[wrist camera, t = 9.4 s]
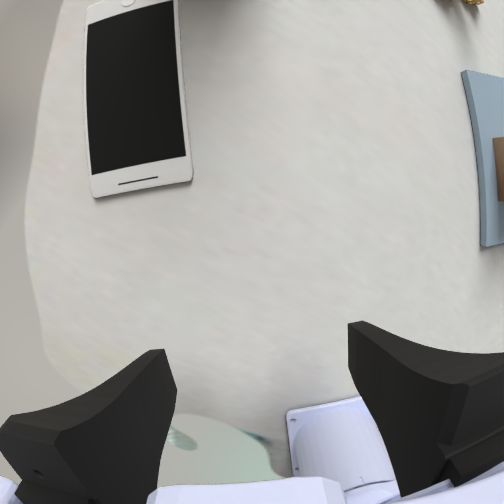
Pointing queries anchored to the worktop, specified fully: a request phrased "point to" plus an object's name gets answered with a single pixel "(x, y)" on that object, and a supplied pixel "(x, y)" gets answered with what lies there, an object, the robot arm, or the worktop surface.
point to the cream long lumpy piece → (474, 1)
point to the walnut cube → (499, 165)
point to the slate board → (487, 148)
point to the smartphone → (134, 97)
